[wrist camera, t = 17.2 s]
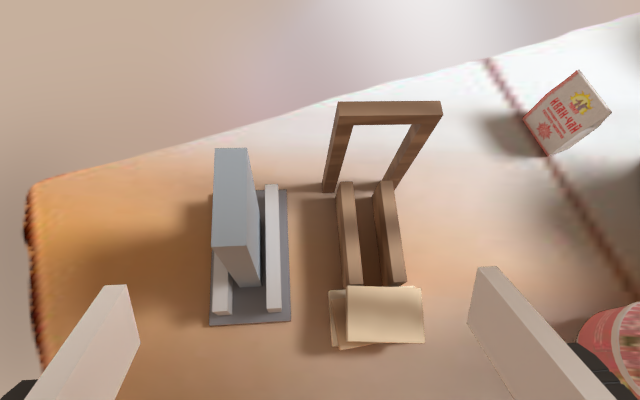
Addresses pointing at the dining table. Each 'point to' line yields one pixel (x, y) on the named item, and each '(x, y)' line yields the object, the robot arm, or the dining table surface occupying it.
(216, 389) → the dining table surface
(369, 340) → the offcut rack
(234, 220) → the slate board
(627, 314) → the container
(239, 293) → the slot stand
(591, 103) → the tea bag
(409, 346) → the dining table surface
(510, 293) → the robot arm
